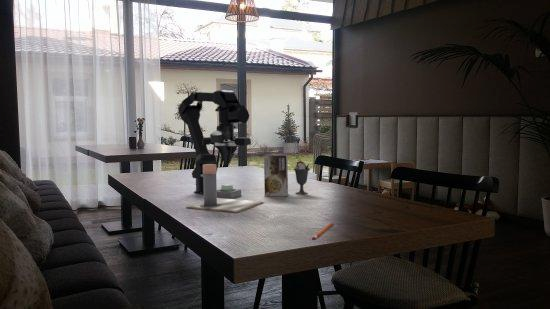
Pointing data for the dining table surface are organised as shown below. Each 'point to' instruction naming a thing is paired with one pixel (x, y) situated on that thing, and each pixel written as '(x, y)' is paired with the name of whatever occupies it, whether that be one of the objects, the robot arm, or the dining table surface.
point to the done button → (227, 187)
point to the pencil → (323, 230)
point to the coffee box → (276, 175)
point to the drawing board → (227, 205)
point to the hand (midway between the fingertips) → (226, 163)
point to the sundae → (301, 175)
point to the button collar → (228, 194)
